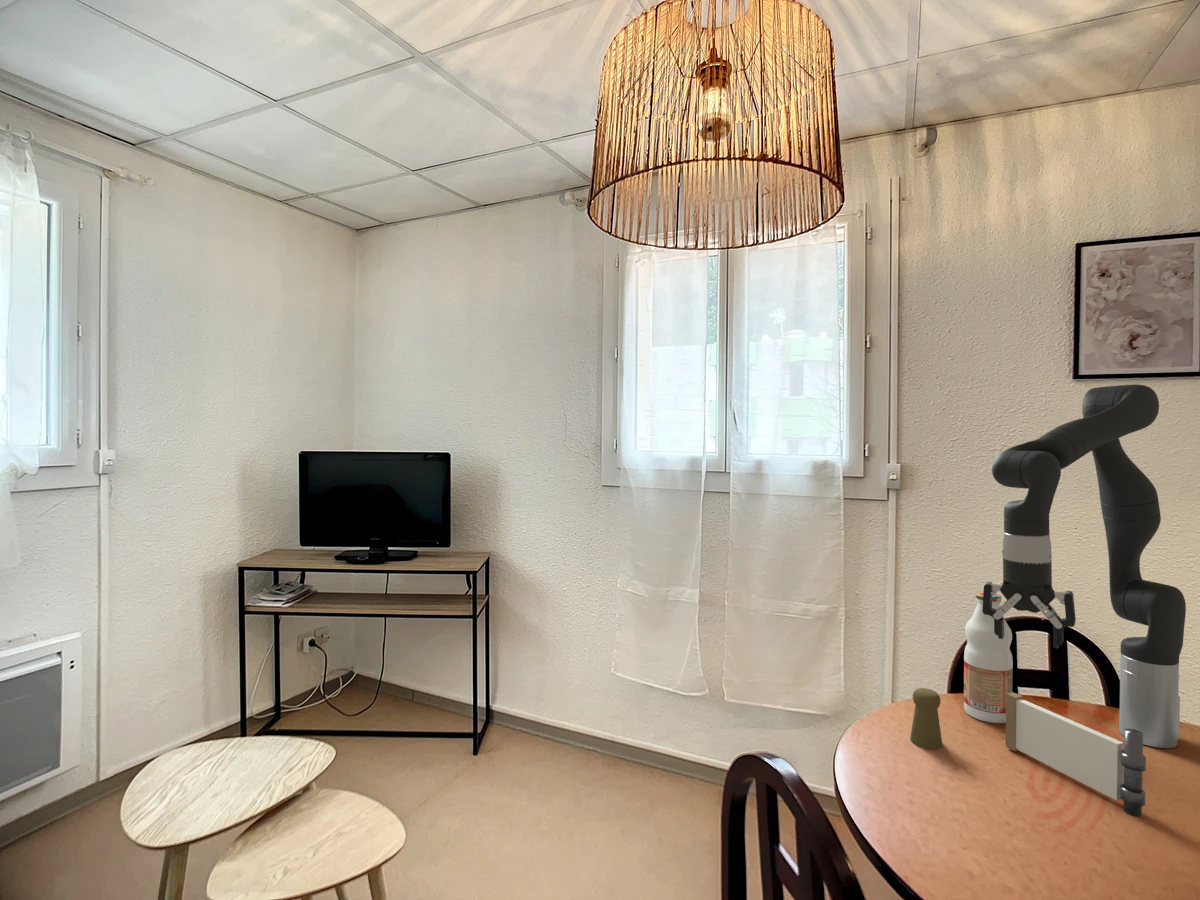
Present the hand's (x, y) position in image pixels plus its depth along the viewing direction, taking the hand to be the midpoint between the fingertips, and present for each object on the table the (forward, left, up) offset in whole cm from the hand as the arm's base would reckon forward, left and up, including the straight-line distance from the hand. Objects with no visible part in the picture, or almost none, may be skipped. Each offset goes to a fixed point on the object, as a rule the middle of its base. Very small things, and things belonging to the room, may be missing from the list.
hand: (1027, 642), depth 116 cm
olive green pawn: (+8, -16, -26) cm, 31 cm away
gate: (-6, +2, -25) cm, 26 cm away
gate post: (-6, +14, -26) cm, 30 cm away
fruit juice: (-15, -21, -26) cm, 37 cm away
